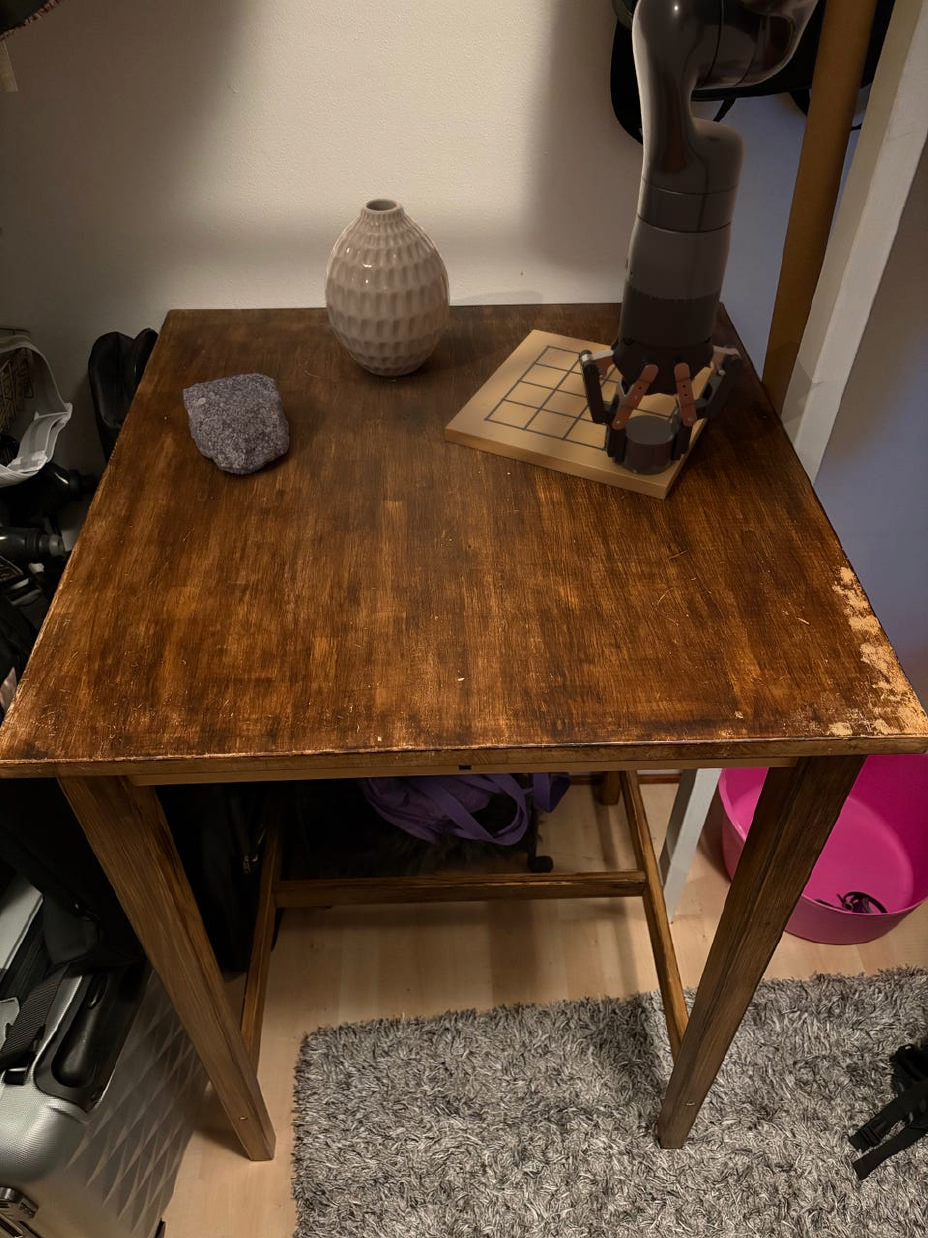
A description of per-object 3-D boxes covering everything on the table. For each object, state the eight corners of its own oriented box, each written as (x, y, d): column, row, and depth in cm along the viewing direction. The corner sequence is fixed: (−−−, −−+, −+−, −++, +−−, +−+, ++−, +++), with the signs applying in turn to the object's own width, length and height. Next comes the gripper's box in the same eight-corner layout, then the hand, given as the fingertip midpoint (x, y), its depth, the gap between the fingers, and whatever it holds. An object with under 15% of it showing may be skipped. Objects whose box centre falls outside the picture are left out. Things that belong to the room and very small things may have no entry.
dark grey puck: (677, 452, 83) (682, 422, 81) (661, 480, 80) (667, 449, 78) (627, 439, 85) (631, 410, 83) (610, 466, 82) (614, 436, 80)
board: (726, 384, 95) (729, 371, 94) (664, 500, 81) (667, 485, 80) (533, 341, 102) (533, 328, 101) (444, 440, 88) (444, 426, 87)
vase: (469, 378, 96) (469, 218, 84) (353, 403, 93) (336, 240, 81) (426, 326, 105) (420, 173, 93) (318, 347, 101) (299, 191, 89)
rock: (164, 389, 86) (258, 349, 89) (182, 434, 90) (272, 394, 93) (214, 455, 80) (314, 409, 83) (230, 499, 84) (325, 454, 87)
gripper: (591, 298, 67) (573, 485, 80) (780, 291, 68) (733, 477, 80) (575, 256, 73) (560, 437, 85) (750, 250, 73) (711, 430, 85)
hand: (644, 456), depth 82 cm, fingers closed on dark grey puck, 4 cm apart
